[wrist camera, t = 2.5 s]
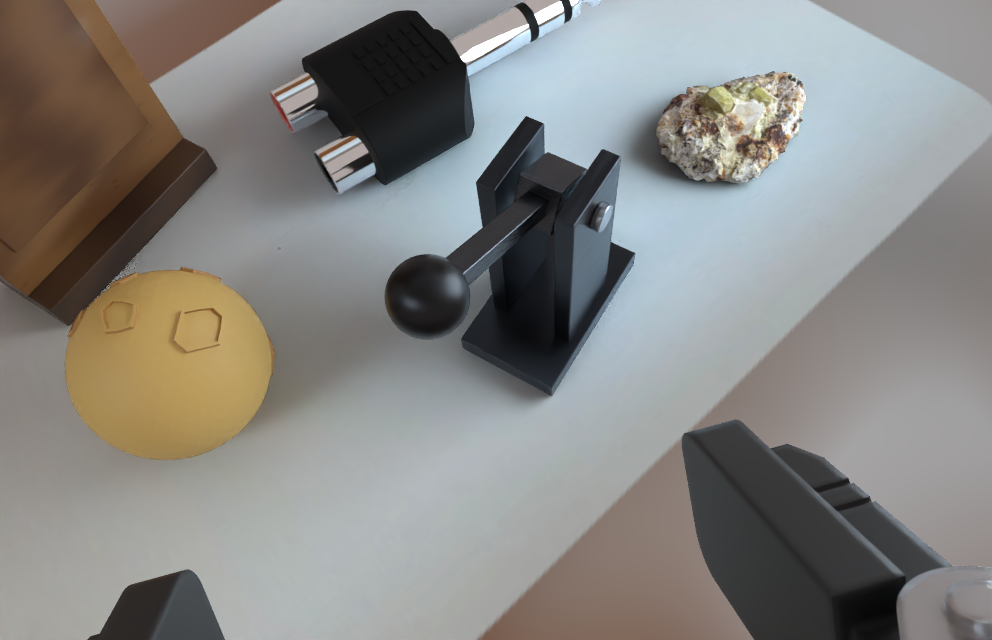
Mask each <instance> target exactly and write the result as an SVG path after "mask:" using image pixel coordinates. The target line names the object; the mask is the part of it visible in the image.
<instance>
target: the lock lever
mask: <svg viewBox="0 0 992 640" xmlns="http://www.w3.org/2000/svg"><path fill="white" fill-rule="evenodd" d="M586 172H587V169H586V168H583V167H581V166H579V165H576V164H574V163H572V162H569V161H567V160H565V159H563V158H560V157H558V156H556V155H553V154H551V153H549V152H547V153H546V154H544V155H543V156H542V157H541V158H539V159H538V160H537V161H535V162H534V163H533V164H531V165H530V166H529V167H528V168H526V169H525V170H524V171H522V172H521V173H520V174H519V179H518V184H517V188H516V193H515V198H514V203H513V204H511V205H510V206H509V207H508V208H506V209H505V210H504V211H503V212H502V213H500V214H499V215H498V216H497V217H495V218H494V219H493V220H492V221H491V222H489V223H488V224H487V225H486V226H484V227H483V228H482V229H481V230H479V231H478V232H477V233H476V234H475V235H473V236H472V237H471V238H470V239H468V240H467V241H466V242H465V243H463V244H462V245H461V246H460V247H459V248H457V249H456V250H455V251H454V252H452V253H451V254H450V255H449V256H448V257H446V258H444V257H441V256H437V255H431V254H424V255H418V256H414V257H411V258H409V259H407V260H405V261H404V262H402V263H401V264H400V265H399V266H397V267H396V269H395V270H394V271H393V272H392V274H391V276H390V277H389V279H388V282H387V285H386V289H385V305H386V309H387V312H388V315H389V317H390V318H391V320H392V322H393V323H394V324H395V325H396V326H397V327H398V328H399V329H400V330H401V331H402V332H404V333H405V334H407V335H409V336H411V337H414V338H417V339H423V340H432V339H438V338H441V337H444V336H446V335H448V334H450V333H451V332H453V331H454V330H455V329H456V328H458V327H459V325H460V324H461V323H462V322H463V320H464V319H465V317H466V315H467V312H468V309H469V305H470V289H469V285H470V284H471V283H472V282H473V281H474V280H475V279H476V278H478V277H479V276H480V275H481V274H482V273H483V272H484V271H485V270H486V269H488V268H489V267H490V266H491V265H492V264H493V263H494V262H495V261H497V260H498V259H499V258H500V257H501V256H502V255H503V254H504V253H505V252H507V251H508V250H509V249H510V248H511V247H512V246H513V245H514V244H516V243H517V242H518V241H519V240H520V239H521V238H522V237H523V236H524V235H526V234H527V233H528V232H529V231H530V230H531V229H532V228H535V229H537V230H539V231H541V232H543V233H545V234H547V235H549V236H551V235H552V234H553V233H554V219H555V217H556V215H557V214H558V212H559V211H560V209H561V208H562V206H563V205H564V204H565V202H566V201H567V199H568V198H569V196H570V195H571V193H572V192H573V190H574V189H575V188H576V186H577V185H578V183H579V182H580V180H581V179H582V177H583V176H584V174H585V173H586Z"/></svg>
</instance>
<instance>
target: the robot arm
mask: <svg viewBox="0 0 992 640" xmlns="http://www.w3.org/2000/svg"><path fill="white" fill-rule="evenodd" d="M682 450H683V457H684V462H685V469H686V474H687V480H688V486H689V492H690V498H691V504H692V510H693V516H694V522H695V527H696V533H697V537H698V541H699V545H700V548H701V551H702V554H703V557H704V559H705V562H706V564H707V566H708V568H709V570H710V572H711V574H712V576H713V578H714V580H715V581H716V583H717V584H718V586H719V587H720V589H721V590H722V592H723V593H724V595H725V596H726V598H727V599H728V601H729V602H730V604H731V605H732V607H733V608H734V610H735V611H736V613H737V614H738V616H739V617H740V619H741V620H742V622H743V623H744V625H745V626H746V628H747V630H748V631H749V633H750V634H751V635H752V637H753V638H754V640H992V568H986V567H977V566H952V565H951V564H949V563H948V562H947V561H946V560H945V559H944V558H942V557H941V556H940V555H939V554H938V553H936V552H935V551H934V550H933V549H932V548H930V547H929V546H928V545H927V544H926V543H924V542H923V541H922V540H921V539H920V538H918V537H917V536H916V535H915V534H914V533H913V532H911V531H910V530H909V529H908V528H907V527H905V526H904V525H903V524H902V523H901V522H899V521H898V520H897V519H896V518H894V517H893V516H892V515H891V514H890V513H889V512H888V511H886V510H885V509H884V508H883V507H882V506H880V505H879V504H878V503H877V502H872V501H871V499H870V496H869V495H867V494H866V493H865V492H864V491H863V490H861V489H860V488H859V487H858V486H857V485H855V484H854V483H852V484H850V482H849V479H848V478H847V477H846V476H845V475H844V474H842V473H841V472H840V471H839V470H837V469H836V468H835V467H834V466H833V465H831V464H830V463H829V462H828V461H827V460H826V459H824V458H823V457H820V456H818V455H815V454H813V453H810V452H807V451H805V450H802V449H799V448H797V447H794V446H792V445H789V444H785V445H782V446H778V447H774V448H771V449H770V448H769V447H768V446H767V445H766V444H765V443H764V442H763V441H761V440H760V439H759V438H758V437H757V436H756V435H755V434H754V433H753V432H752V431H751V430H750V429H748V427H746V426H745V425H744V424H743V423H742V422H741V421H739V420H732V421H728V422H725V423H721V424H717V425H713V426H710V427H706V428H702V429H699V430H695V431H691V432H688V433H685V434H683V437H682ZM87 640H225V639H224V636H223V634H222V632H221V629H220V627H219V624H218V622H217V620H216V617H215V615H214V612H213V610H212V607H211V605H210V603H209V600H208V598H207V595H206V593H205V591H204V588H203V586H202V584H201V582H200V580H199V578H198V577H197V575H196V574H195V573H194V572H193V571H191V570H183V571H179V572H176V573H172V574H168V575H165V576H161V577H157V578H154V579H150V580H146V581H143V582H139V583H135V584H132V585H129V586H128V587H127V588H125V590H124V591H123V593H122V594H121V596H120V598H119V600H118V602H117V603H116V605H115V607H114V609H113V611H112V613H111V614H110V616H109V618H108V620H107V622H106V623H105V625H104V627H103V629H102V631H101V632H100V634H97V635H94V636H90V637H89V638H88V639H87Z"/></svg>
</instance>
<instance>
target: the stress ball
mask: <svg viewBox="0 0 992 640" xmlns="http://www.w3.org/2000/svg"><path fill="white" fill-rule="evenodd" d="M109 286H110V288H109V289H108V290H106V291H105V292H103V293H102V294H101V295H100V296H99V297H98V298H97V299H95V300H94V301H93V302H92V303H91V304H90V305H89V307H88V308H87V309H86V310H85V311H84V310H82V311H81V312H80V313H79V315H78V316H77V318H76V319H75V321H74V323H73V325H72V327H71V329H70V331H69V334H68V337H70V340H69V343H68V347H67V351H66V359H65V375H66V382H67V388H68V392H69V395H70V397H71V400H72V402H73V405H74V407H75V408H76V410H77V412H78V414H79V415H80V417H81V418H82V419H83V421H84V422H85V423H86V425H87V426H88V427H89V428H90V429H91V430H92V431H93V432H94V433H95V434H96V435H97V436H99V437H100V438H101V439H103V440H104V441H105V442H107V443H108V444H110V445H111V446H113V447H116V448H118V449H120V450H122V451H124V452H127V453H129V454H132V455H135V456H138V457H144V458H149V459H158V460H175V459H183V458H190V457H193V456H197V455H200V454H203V453H206V452H208V451H211V450H213V449H215V448H217V447H219V446H221V445H223V444H224V443H226V442H227V441H229V440H230V439H231V438H233V437H234V436H236V435H237V434H238V433H239V432H240V431H241V430H242V429H243V428H244V427H245V426H246V425H247V424H248V423H249V422H250V420H251V419H252V418H253V417H254V415H255V414H256V412H257V410H258V409H259V407H260V405H261V404H262V402H263V399H264V397H265V395H266V392H267V389H268V385H269V381H270V376H272V375H273V368H274V358H275V351H274V348H273V345H272V342H271V340H270V338H269V337H268V335H267V333H266V332H265V329H264V326H263V324H262V323H261V321H260V319H259V317H258V315H257V314H256V313H255V311H254V310H253V309H252V307H251V306H250V305H249V304H248V303H247V302H246V301H245V299H244V298H243V297H242V296H240V295H239V294H238V293H237V292H235V291H234V290H233V289H231V288H230V287H228V286H226V285H225V284H223V283H221V278H219V277H216V276H214V275H211V274H209V273H206V272H202V271H198V270H193V269H188V268H183V267H181V268H180V270H162V271H152V272H148V273H143V274H138V273H137V272H136V273H133V274H130V275H127V276H125V277H123V278H121V279H119V280H117V281H115V282H113V283H111V284H110V285H109Z"/></svg>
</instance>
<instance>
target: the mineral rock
mask: <svg viewBox="0 0 992 640" xmlns="http://www.w3.org/2000/svg"><path fill="white" fill-rule="evenodd" d="M686 93H687V95H686V94H680V95H678V96H677V97H675V98H673V99H672V100H671V102H670V104H669V105H668V106H667V107H666V109H665V110H664V112H663V114H662V118H661V119H660V120H659V122H658V126H657V130H656V136H657V139H658V142H659V146H658V147H660V148H661V154H663V155H665V156H666V157H667V158H668V161H669V162H673V163H675V164H677V165H678V166H679V168H680V169H681V170H682V171H684V173H685V175H686V176H688V177H689V178H691V179H694V180H697V181H699V180H701V179H706V181H707V182H711V181H725V180H726V181H728V182H733V183H742V182H744V183H747V182H748V180H749V179H752V178H757V177H759V175H760V173H761V172H762V171H763V170H764V169H765V168H767V167H768V165H769V164H771V163H773V162H774V161H775V160H777V158H778V155H779V154H780V153H782V152H785V148H786V146H787V144H788V142H789V141H790V139H792V138H794V137H796V136H797V135H798V133H799V130H800V128H799V123H800V122H801V121H802V119H801V117H800V115H801V112H802V111H803V104H804V103H805V101H806V95H805V93H804V89H803V84H802V83H801V81H799V79H798V78H797V77H796V76H795V75H793V74H791V73H788V72H783V73H775V72H774V71H773V72H770V73H768V74H765V75H762V76H760V75H756V76H752V77H747V78H745V77H743V78H739V79H735V80H732V81H730V82H727V83H724V85H720V86H717V87H713V88H709V87H707V86H693V87H692V88H690V87H688V88H687V91H686Z"/></svg>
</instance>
